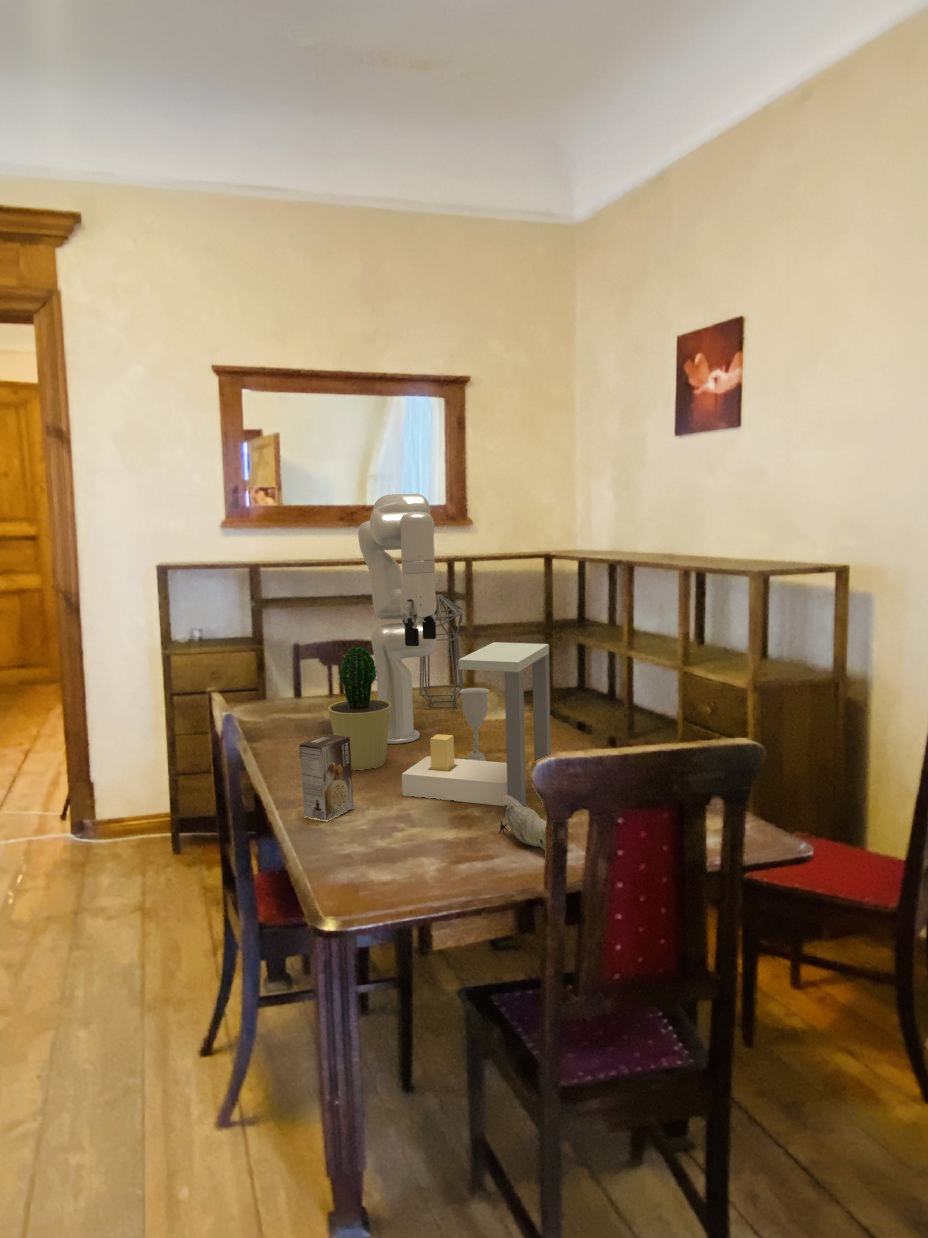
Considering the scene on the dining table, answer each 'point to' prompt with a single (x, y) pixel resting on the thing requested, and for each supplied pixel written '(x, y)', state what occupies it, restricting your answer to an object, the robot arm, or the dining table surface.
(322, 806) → the coffee box
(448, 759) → the peg
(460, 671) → the geometric lantern
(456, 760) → the socket block
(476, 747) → the chalice
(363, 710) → the potted cactus
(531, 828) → the decorative bird
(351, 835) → the dining table surface
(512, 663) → the c-shaped stand
